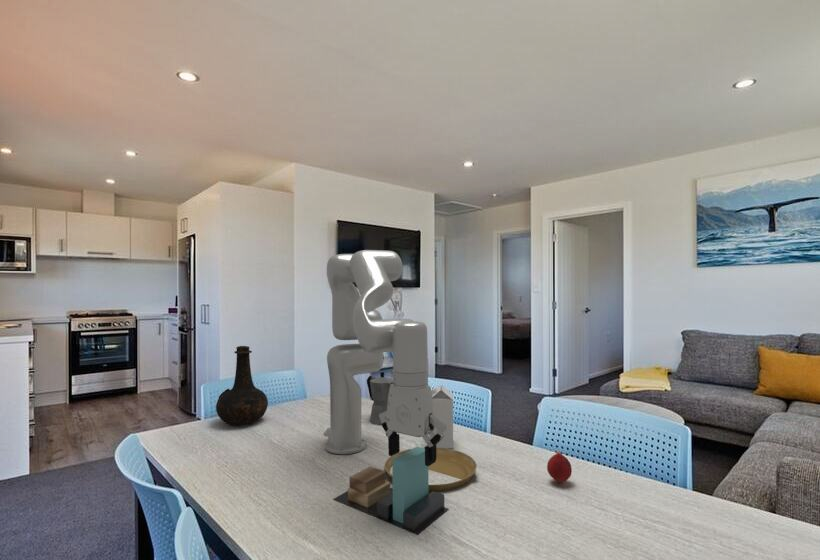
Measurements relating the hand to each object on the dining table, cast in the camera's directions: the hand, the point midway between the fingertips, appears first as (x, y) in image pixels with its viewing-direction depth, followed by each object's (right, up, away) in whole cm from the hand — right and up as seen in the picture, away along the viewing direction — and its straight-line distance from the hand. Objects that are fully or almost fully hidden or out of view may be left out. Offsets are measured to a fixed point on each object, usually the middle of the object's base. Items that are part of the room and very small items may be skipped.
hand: (411, 458), depth 92 cm
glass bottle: (-62, -14, +65) cm, 91 cm away
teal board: (0, -12, 0) cm, 12 cm away
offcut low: (-10, -12, +7) cm, 17 cm away
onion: (+37, -13, +16) cm, 42 cm away
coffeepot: (-11, -14, +66) cm, 68 cm away
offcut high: (-10, -9, +8) cm, 16 cm away
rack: (-5, -13, +4) cm, 14 cm away
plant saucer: (+5, -13, +21) cm, 25 cm away
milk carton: (+10, -13, +42) cm, 45 cm away
